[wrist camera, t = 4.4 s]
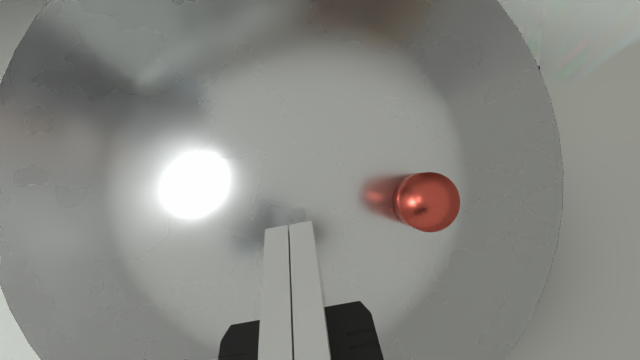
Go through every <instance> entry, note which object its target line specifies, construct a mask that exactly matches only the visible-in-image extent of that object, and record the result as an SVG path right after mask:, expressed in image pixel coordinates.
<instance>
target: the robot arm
mask: <svg viewBox="0 0 640 360" xmlns="http://www.w3.org/2000/svg"><path fill="white" fill-rule="evenodd" d="M218 360H384V358H383V355H382V351H381V347H380V344H379V340H378V336H377V333H376V329H375V325H374V322H373V318H372V314H371V312H370V311H369V310H368V309H367V308H366V307H365V306H364V305H363V303H362V302H361V301H355V302H350V303H344V304H339V305H333V306H327V304H326V297H325V290H324V284H323V279H322V273H321V268H320V263H319V257H318V252H317V247H316V241H315V236H314V231H313V225H312V221H308V222H302V223H297V224H291V225H289V229H288V225H285V226H280V227H274V228H268V229H265V240H264V258H263V275H262V293H261V310H260V320H256V321H250V322H244V323H239V324H233V325H230V327H229V328H228V330H227V332H226V333H225V335H224V336H223V338H222V340H221V342H220V348H219V355H218Z"/></svg>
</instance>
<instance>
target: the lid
mask: <svg viewBox="0 0 640 360" xmlns="http://www.w3.org/2000/svg"><path fill="white" fill-rule="evenodd" d="M562 209H563V164H562V156H561V147H560V139H559V132H558V127H557V123H556V119H555V115H554V112H553V108H552V103H551V99H550V96H549V93H548V91H547V88H546V86H545V83H544V81H543V78H542V75H541V73H540V70H539V68H538V65H537V63H536V61H535V59H534V57H533V55H532V53H531V52H530V50H529V48H528V46H527V44H526V43H525V41H524V39H523V37H522V35H521V33H520V32H519V30H518V28H517V27H516V26H515V24H514V23H513V21H512V20H511V19H510V17H509V16H508V15H507V13H506V12H505V11H504V9H503V8H502V6H501V5H500V4H499V2H498V1H497V0H49V1H48V3H47V4H46V5H45V6H44V8H43V9H42V10H41V11H40V12H39V14H38V15H37V16H36V17H35V19H34V21H33V22H32V24H31V25H30V27H29V29H28V30H27V32H26V34H25V35H24V37H23V38H22V40H21V42H20V43H19V45H18V47H17V48H16V50H15V52H14V54H13V57H12V59H11V61H10V63H9V66H8V68H7V70H6V72H5V74H4V77H3V79H2V81H1V83H0V286H1V288H2V291H3V294H4V296H5V299H6V301H7V304H8V306H9V309H10V311H11V313H12V314H13V316H14V318H15V320H16V321H17V323H18V325H19V327H20V329H21V330H22V332H23V334H24V336H25V338H26V339H27V341H28V343H29V344H30V346H31V347H32V348H33V350H34V351H35V352H36V354H37V355H38V356H39V358H40V359H41V360H218V355H219V348H220V342H221V340H222V338H223V336H224V335H225V333H226V332H227V330H228V328H229V327H230V325H233V324H239V323H244V322H250V321H256V320H260V310H261V293H262V275H263V258H264V240H265V229H268V228H274V227H280V226H285V225H288V229H289V225H291V224H297V223H302V222H308V221H312V225H313V231H314V236H315V241H316V247H317V252H318V257H319V263H320V268H321V273H322V279H323V284H324V290H325V297H326V304H327V306H333V305H339V304H344V303H350V302H355V301H361V302H362V303H363V305H364V306H365V307H366V308H367V309H368V310H369V311H370V312H371V314H372V318H373V322H374V325H375V329H376V333H377V336H378V340H379V344H380V347H381V351H382V355H383V358H384V360H505V358H506V357H507V355H508V354H509V353H510V352H511V351H512V349H513V348H514V346H515V344H516V343H517V341H518V339H519V338H520V336H521V334H522V333H523V331H524V329H525V328H526V326H527V324H528V322H529V321H530V319H531V317H532V316H533V313H534V311H535V309H536V306H537V304H538V302H539V299H540V297H541V295H542V292H543V290H544V288H545V285H546V283H547V280H548V276H549V273H550V269H551V265H552V262H553V259H554V255H555V252H556V248H557V243H558V237H559V230H560V222H561V216H562Z"/></svg>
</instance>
